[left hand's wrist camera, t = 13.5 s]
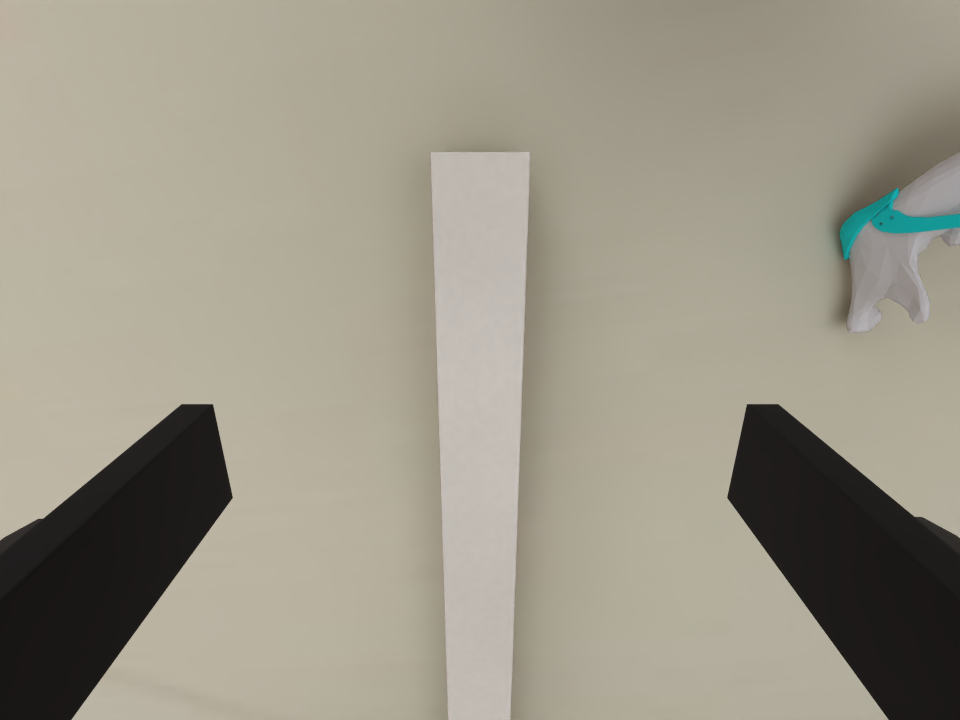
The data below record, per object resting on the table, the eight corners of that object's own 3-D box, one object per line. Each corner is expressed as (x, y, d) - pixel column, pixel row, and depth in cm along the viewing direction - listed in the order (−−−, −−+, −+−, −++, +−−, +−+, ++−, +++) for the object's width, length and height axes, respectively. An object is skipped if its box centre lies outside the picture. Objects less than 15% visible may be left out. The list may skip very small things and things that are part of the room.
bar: (441, 152, 31) (430, 151, 23) (518, 153, 31) (530, 151, 23) (458, 848, 57) (455, 949, 50) (499, 848, 57) (502, 949, 50)
